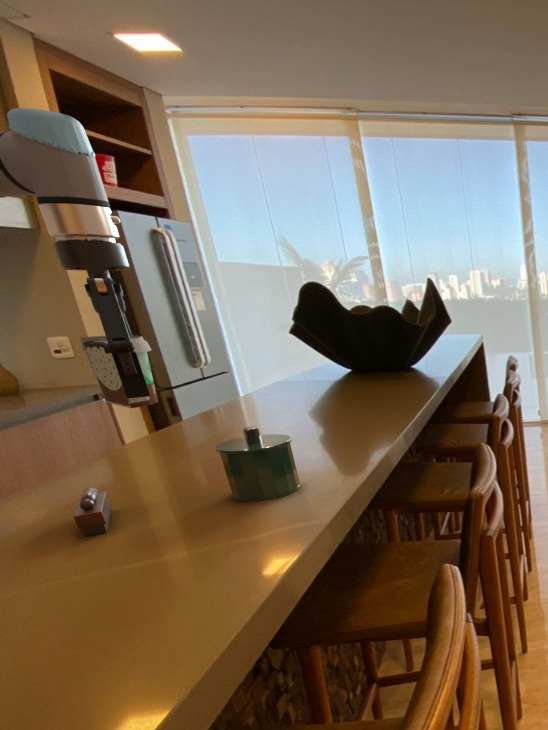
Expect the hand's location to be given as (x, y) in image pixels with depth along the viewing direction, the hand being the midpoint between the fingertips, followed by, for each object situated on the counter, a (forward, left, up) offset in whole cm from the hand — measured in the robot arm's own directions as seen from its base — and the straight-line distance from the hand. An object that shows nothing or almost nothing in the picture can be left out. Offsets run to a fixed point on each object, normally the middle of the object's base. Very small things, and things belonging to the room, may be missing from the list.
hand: (139, 392), depth 89 cm
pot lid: (+5, +13, -10) cm, 17 cm away
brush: (+5, -10, -18) cm, 21 cm away
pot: (+5, +13, -18) cm, 23 cm away
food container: (-1, 0, -2) cm, 2 cm away
